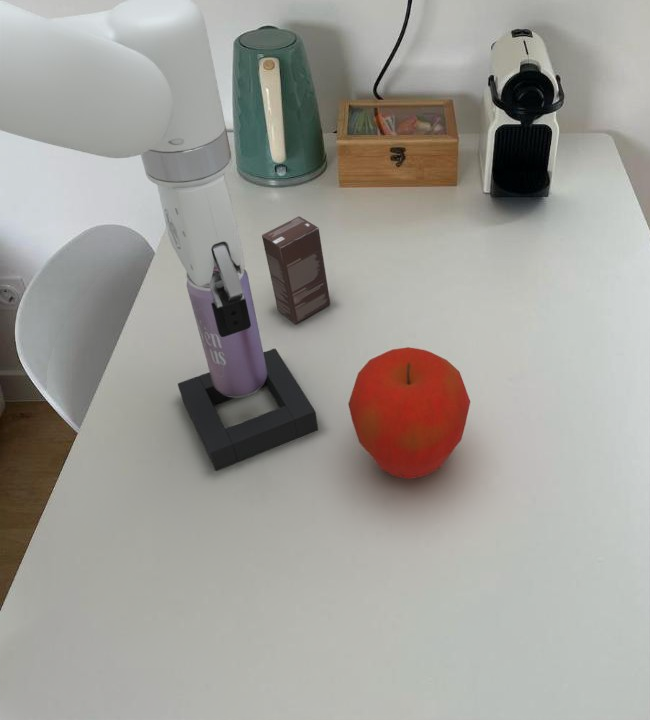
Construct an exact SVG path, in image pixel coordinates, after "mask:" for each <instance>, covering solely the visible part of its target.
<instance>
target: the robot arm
mask: <svg viewBox="0 0 650 720" xmlns="http://www.w3.org/2000/svg"><path fill="white" fill-rule="evenodd" d="M213 60H214V59H213V55H212V50H211V45H210V40H209V35H208V29H207V25H206V22H205V17H204V15H203V13H202V10H201V9H200V7H199V6H198V5H197V4H196V2H194V1H193V0H125V1H122V2H120V3H118V4H117V5H115V6H113V8H111V9H107V10H102V11H97V12H89V13H84V14H76V15H70V16H69V15H68V16H60V17H53V18H47V17H44V16H41V15H39V14H37V13H34V12H32V11H29V10H27V9H24V8H22V7H19V6H17V5H15V4H12V3H10V2H8V1H5V0H0V131H1V132H5V133H9V134H11V135H15V136H18V137H21V138H25V139H28V140H32V141H37V142H40V143H44V144H47V145H51V146H57V147H60V148H64V149H69V150H73V151H77V152H80V153H81V152H82V153H86V154H90V155H94V156H98V157H103V158H109V159H129V158H132V157H133V158H134V157H137V156H140V159H141V161H142V165H143V168H144V172H145V176H146V178H147V179H148V180H149V181H150V182H151V183H153V184H155V185H156V187H157V192H158V195H159V200H160V205H161V208H162V213H163V218H164V221H165V227H166V231H167V235H168V238H169V241H170V242H169V243H170V244H171V246H172V248H173V250H174V252H175V253H176V256H177V257H178V259H179V261H180V263H181V265H182V267H183V268H184V269H185V271H186V273H188V275H189V276H190V278H191V280H192V281H193V282H194V283H195V284H196V285H198V286H204V285H205V284H209V287H210V290H211V293H212V297H213V300H214V303H211V305H212V309H213V313H214V317H215V321H216V325H217V329H218V333H219V334H220V336H221V337H226V336H228V335H231V334H234V333H237V332H240V331H243V330H246V329H248V328H250V327H251V322H250V318H249V313H248V308H247V304H246V299H245V295H244V292H243V289H242V286H241V282H240V279H239V276H238V273H237V272H239V273H240V274H241V273H242V272H243V271H244V269H245V268H246V265H245V256H244V251H243V245H242V241H241V236H240V231H239V228H238V222H237V218H236V215H235V210H234V207H233V202H232V195H231V194H230V191H229V187H228V183H227V180H226V176H225V174H226V173H227V172H229V170H230V169H231V167H232V166H233V156H232V151H231V146H230V142H229V136H228V132H227V126H226V121H225V116H224V111H223V107H222V101H221V96H220V91H219V86H218V81H217V75H216V71H215V66H214V61H213ZM215 267H217V268H218V271H219V272H216V273H213V270H214V268H215ZM220 280H222V281H223V284H224V290H222V291H221V292H220V294H219V291H218V288H217V285H216V282H217V281H220Z"/></svg>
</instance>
